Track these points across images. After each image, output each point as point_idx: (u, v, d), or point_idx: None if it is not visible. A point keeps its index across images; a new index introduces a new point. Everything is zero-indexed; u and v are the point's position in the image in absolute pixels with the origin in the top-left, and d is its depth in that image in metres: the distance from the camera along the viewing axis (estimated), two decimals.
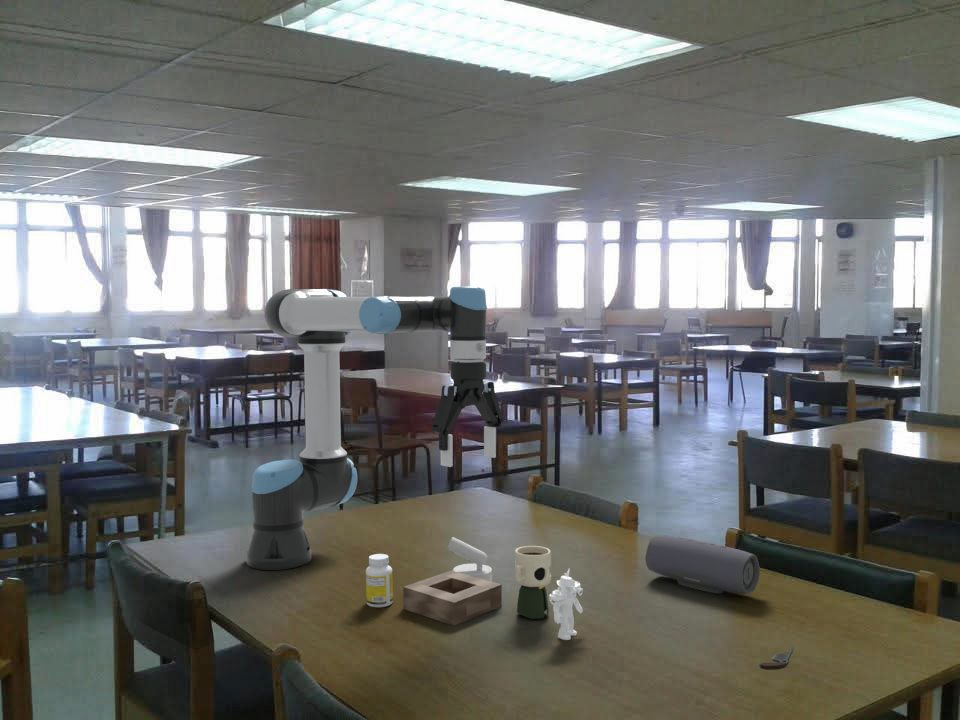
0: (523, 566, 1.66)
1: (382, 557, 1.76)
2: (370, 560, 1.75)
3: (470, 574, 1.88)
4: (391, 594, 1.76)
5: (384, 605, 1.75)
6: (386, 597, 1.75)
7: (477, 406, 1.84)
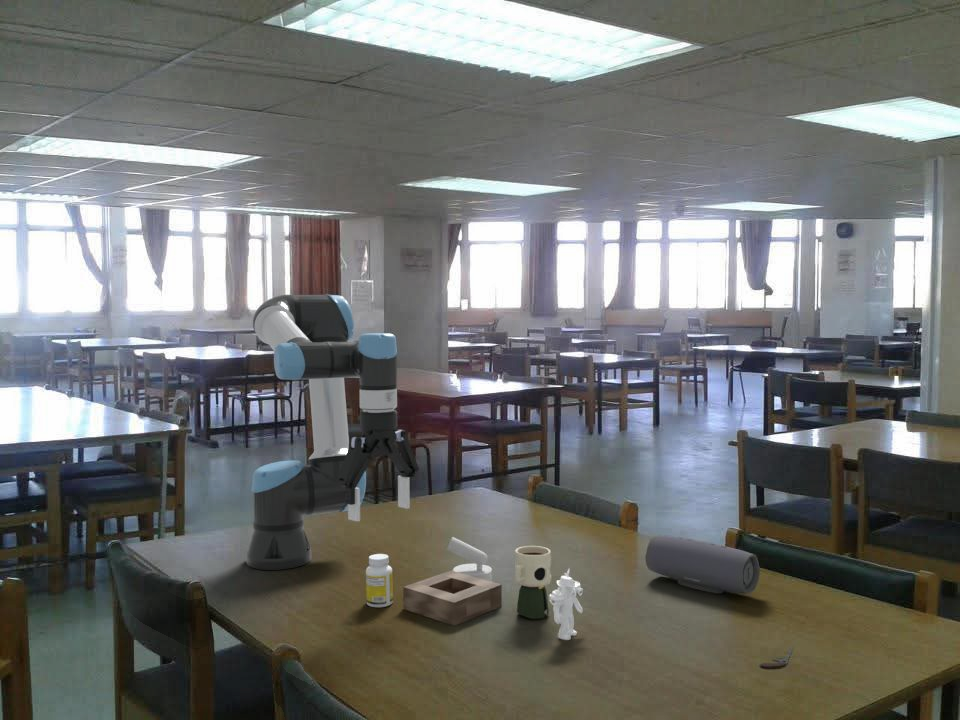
0: (523, 566, 1.66)
1: (382, 557, 1.76)
2: (370, 560, 1.75)
3: (470, 574, 1.88)
4: (391, 594, 1.76)
5: (384, 605, 1.75)
6: (386, 597, 1.75)
7: (389, 456, 1.78)
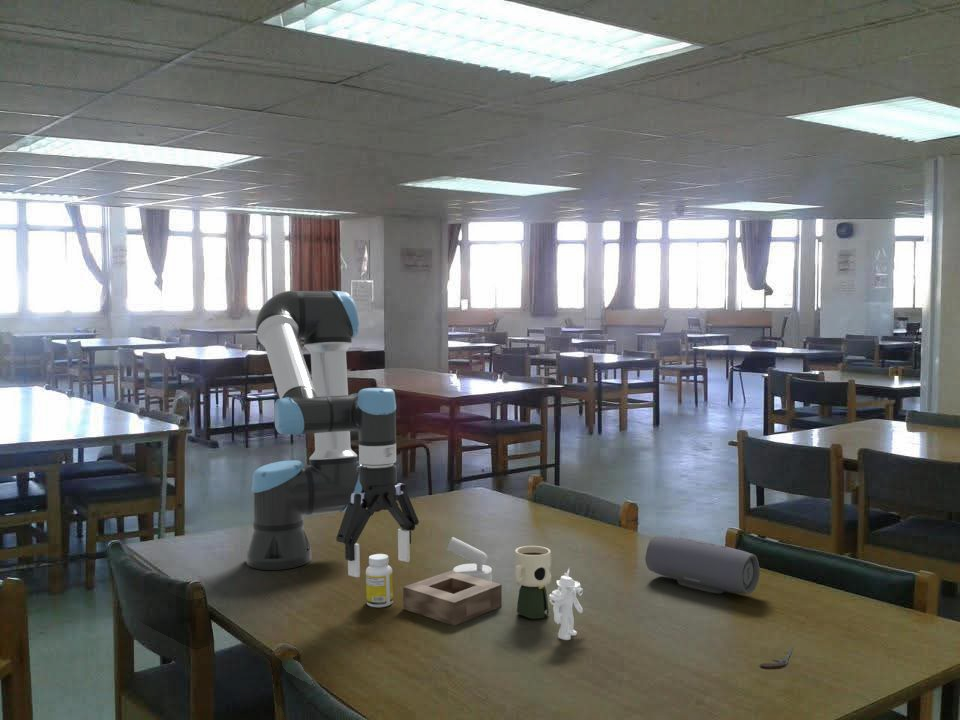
0: (523, 566, 1.66)
1: (382, 557, 1.76)
2: (370, 560, 1.75)
3: (470, 574, 1.88)
4: (391, 594, 1.76)
5: (384, 605, 1.75)
6: (386, 597, 1.75)
7: (389, 510, 1.79)
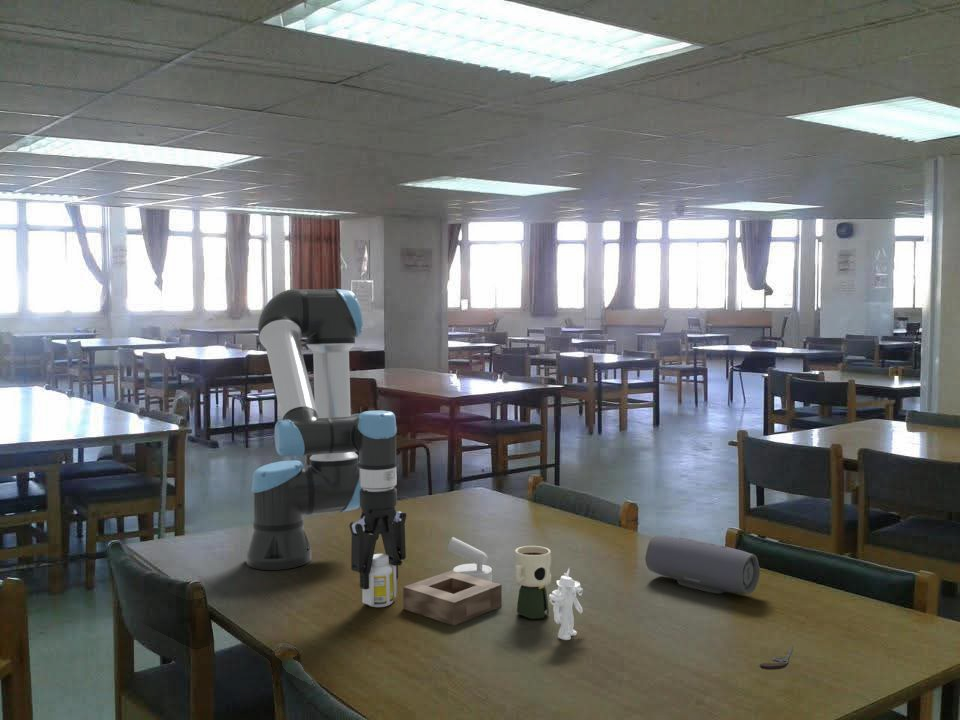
0: (523, 566, 1.66)
1: (382, 557, 1.76)
2: None
3: (470, 574, 1.88)
4: (391, 594, 1.76)
5: (384, 605, 1.75)
6: (386, 597, 1.75)
7: (383, 536, 1.78)
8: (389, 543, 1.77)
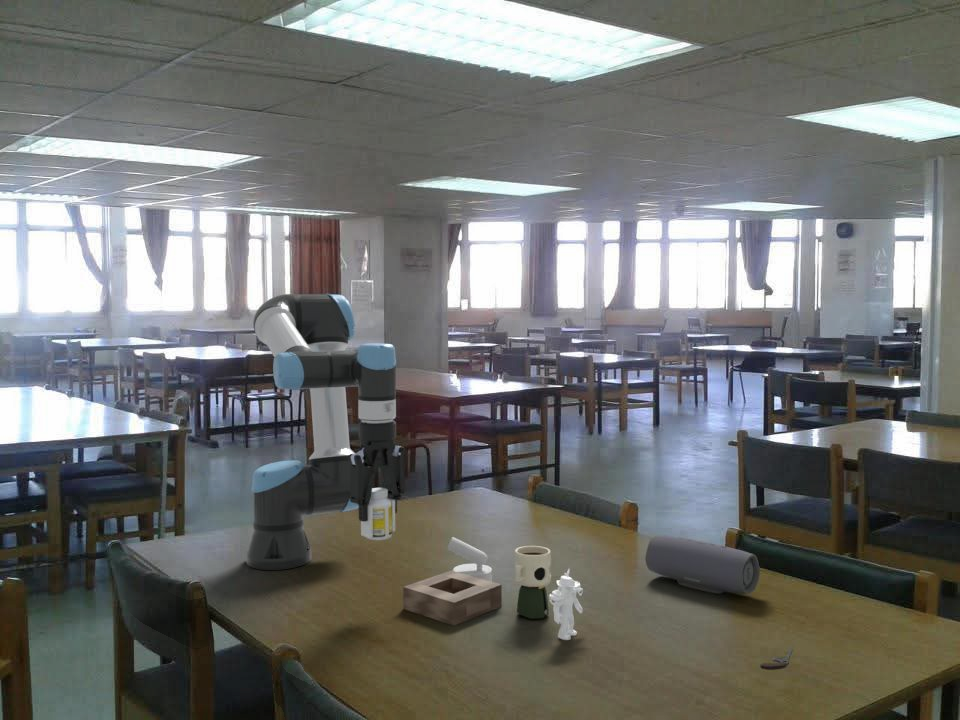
0: (523, 566, 1.66)
1: (381, 490, 1.75)
2: None
3: (470, 574, 1.88)
4: (390, 527, 1.75)
5: (383, 538, 1.74)
6: (385, 530, 1.74)
7: (382, 470, 1.77)
8: (388, 477, 1.77)
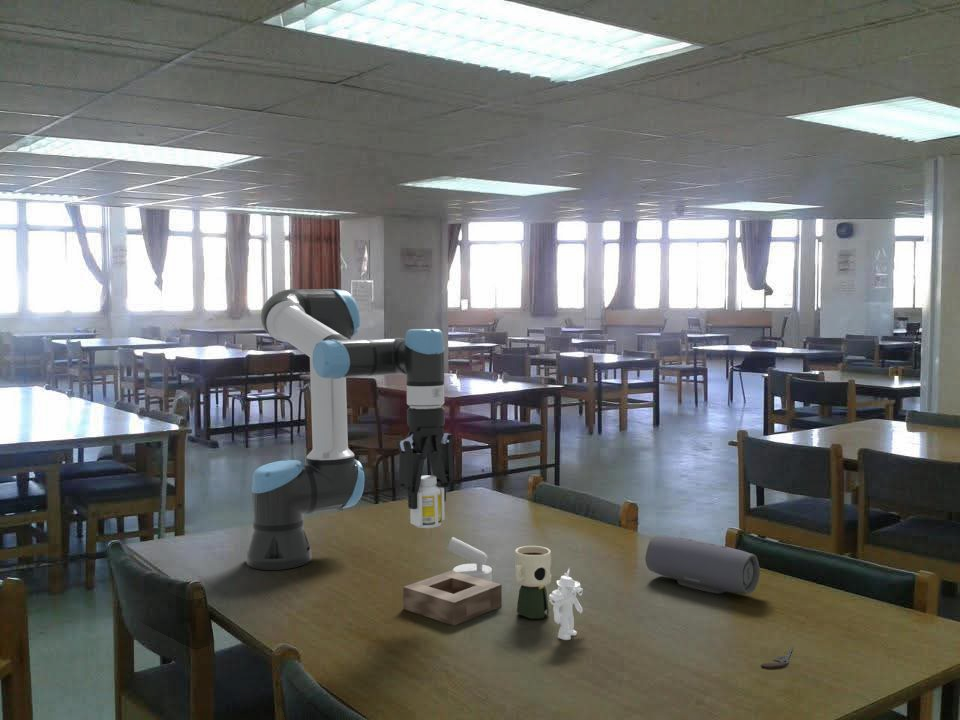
0: (523, 566, 1.66)
1: (430, 477, 1.72)
2: None
3: (470, 574, 1.88)
4: (439, 515, 1.73)
5: (433, 526, 1.71)
6: (435, 518, 1.71)
7: (431, 457, 1.75)
8: (437, 464, 1.74)
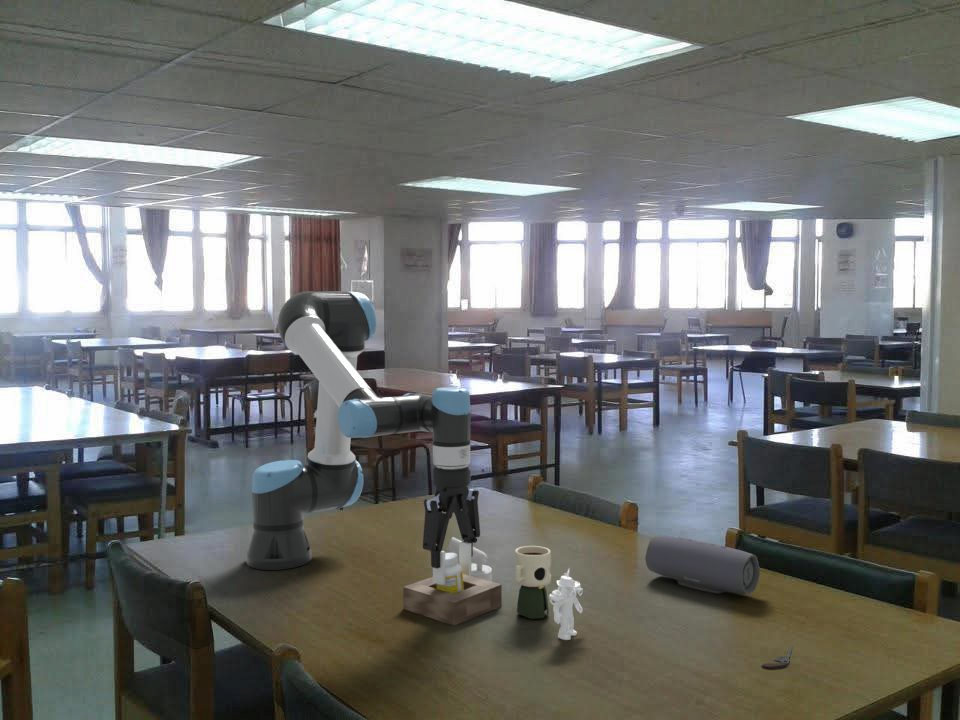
0: (523, 566, 1.66)
1: (451, 556, 1.73)
2: None
3: None
4: None
5: None
6: None
7: (457, 515, 1.75)
8: (463, 521, 1.75)
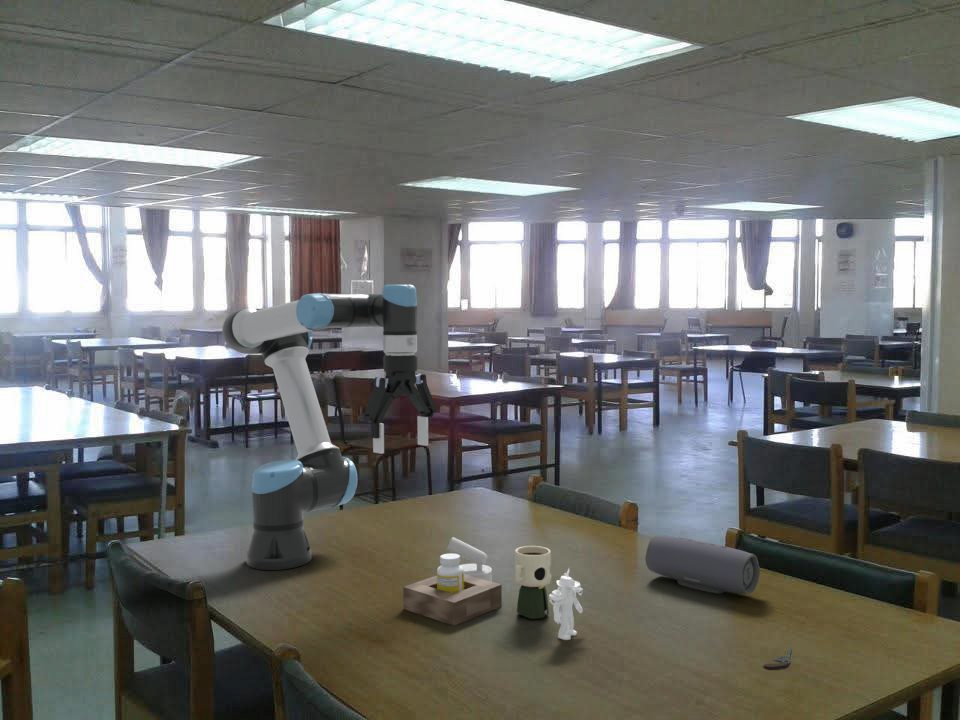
0: (523, 566, 1.66)
1: (454, 556, 1.73)
2: (442, 560, 1.72)
3: (470, 574, 1.88)
4: None
5: None
6: None
7: (410, 397, 1.96)
8: (417, 401, 1.96)
